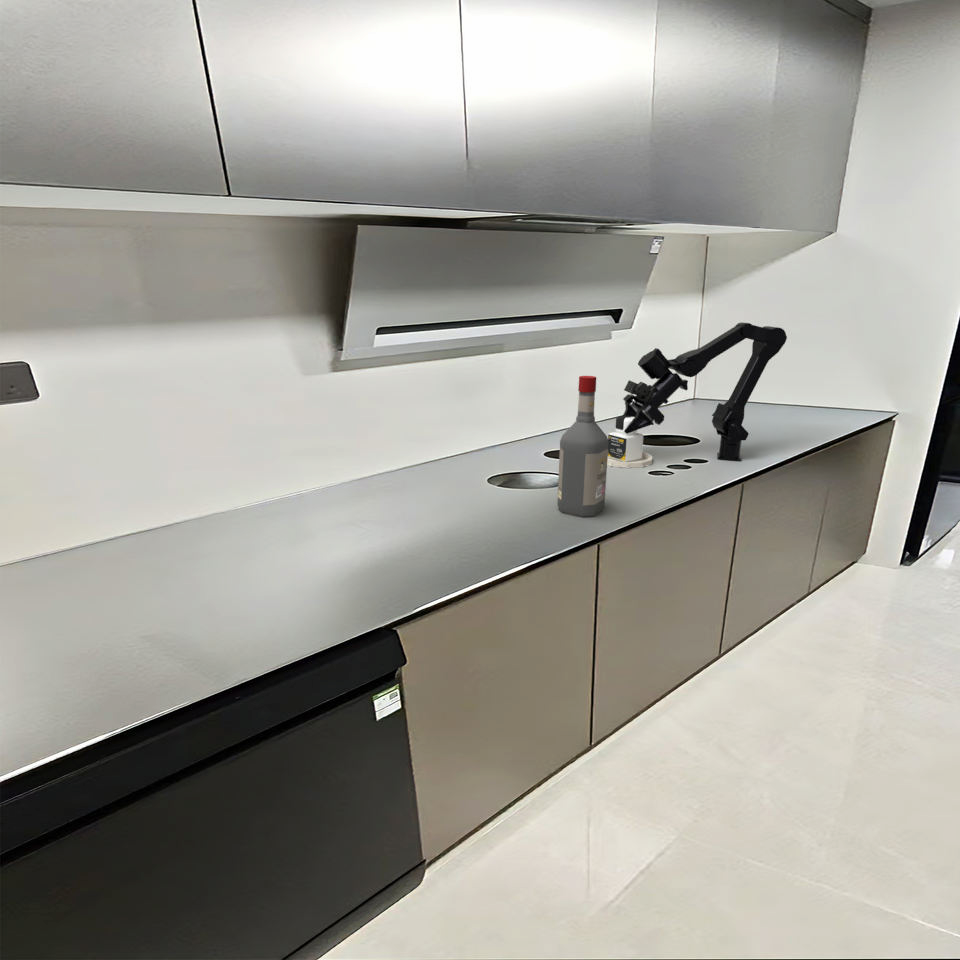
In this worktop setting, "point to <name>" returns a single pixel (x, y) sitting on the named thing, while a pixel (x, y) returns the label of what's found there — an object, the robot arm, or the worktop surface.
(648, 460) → the coaster
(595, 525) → the worktop surface
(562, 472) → the liquor
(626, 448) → the medicine bottle
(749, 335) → the robot arm
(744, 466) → the worktop surface
